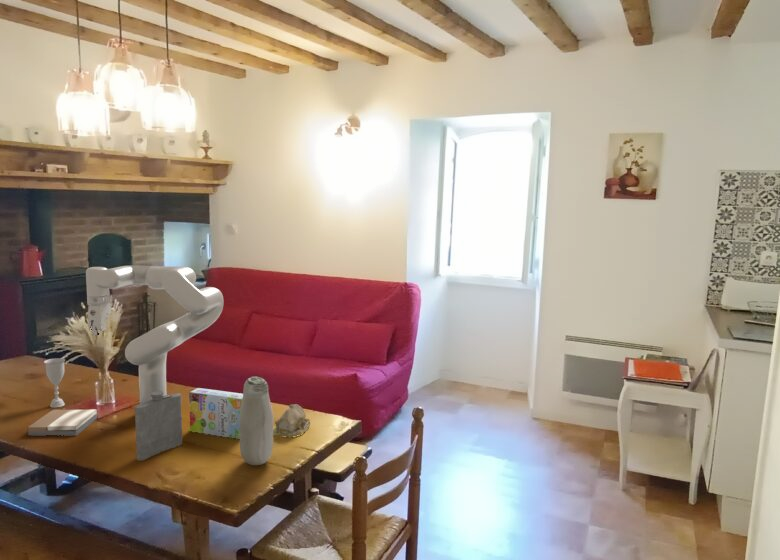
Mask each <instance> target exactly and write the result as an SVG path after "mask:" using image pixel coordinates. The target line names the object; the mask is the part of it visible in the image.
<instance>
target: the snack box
mask: <svg viewBox="0 0 780 560" xmlns="http://www.w3.org/2000/svg"><path fill="white" fill-rule="evenodd" d="M242 400H243V393H241V392H240V393H239V392H232V391H224V390H218V389H209V388H203V387H202V388H201V387H197V388H194V389H193V390H192V391H189V432H190V431H192V432H191V433H195V432H198V433H197V434H202V433H205V434H204V435H208V434H211V435H210V436H214V435H217V436H216V437H220V436H222V437H221V438H227V437H229V438H228V439H233V438H236V439H235V440H239V439H240V432H239V414H240V409H241V404H242Z"/></svg>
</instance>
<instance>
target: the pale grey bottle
mask: <svg viewBox="0 0 780 560" xmlns="http://www.w3.org/2000/svg"><path fill="white" fill-rule="evenodd" d="M242 389H243V392H242V394H243V400H242V404H241V409H240V414H239V432H240V440H239V452H240V455H241V457H242V459H243V461H244V462H245V463H246V464H249V465H251V466H261V465H264V464H265V463H267V462H268V461H269V459H270V458H271V456H272V453H273V448H274V435H273V430H274V411H273V407H272V402H271V399H270V393H269V384H268V382H267V381H266V379H264V378H263V377H259V376H251V377H249V378H247V379H246V380H245V382H244V384H243V388H242Z"/></svg>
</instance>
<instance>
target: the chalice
mask: <svg viewBox="0 0 780 560" xmlns="http://www.w3.org/2000/svg"><path fill="white" fill-rule="evenodd" d="M65 361H66V359H64V358H59V357H58V358H49V359H47V360H44V361H43V363H44V364H45V373H46V376H47V378H48V380H49V381H50V383H51V384H52V385H54V388H53V390H54V393H53V394H54V395H55V397H54V399H52V400H51V402H50V405H49V407H50V408H52V409H53V408H54V409H56V408H60V407H63V406H65V405H66V403H65V402H64V400H63V398H60V397H59V394H60V391H59V384H60V383H61V381H62V379H63V377H64V375H65Z"/></svg>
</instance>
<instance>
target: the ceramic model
mask: <svg viewBox="0 0 780 560" xmlns="http://www.w3.org/2000/svg"><path fill="white" fill-rule="evenodd" d="M306 417H307V414H306V412H305V410H304V409H303V407H302V406H300V405H299V404H297V403H295V404H293V403H290V404H289V405H288V408H286V409H285V411H284V413H282V414H281V416H280V417H279V418H277V419H276V420H275V421H274V424H275V427H274V428H273V434H274V435H276V436H275V437H280V436H286V437H293V436H297V435H301V434H302V433H303V434H304V432H305V431H306V430H307V429H308V430H309V428H310V426H311V420H310V418H306ZM308 430H307V431H308ZM307 431H306V432H307ZM306 432H305V433H306ZM303 434H302V435H303ZM274 435H273V436H274ZM302 435H301V436H302ZM286 437H285V438H286Z"/></svg>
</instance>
